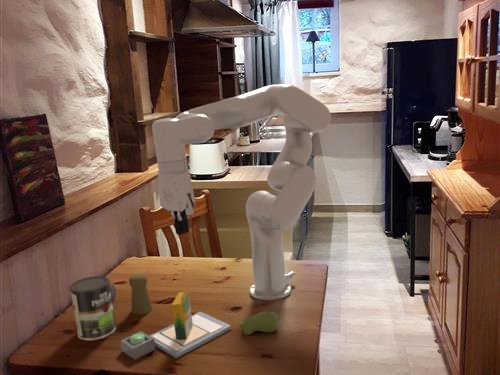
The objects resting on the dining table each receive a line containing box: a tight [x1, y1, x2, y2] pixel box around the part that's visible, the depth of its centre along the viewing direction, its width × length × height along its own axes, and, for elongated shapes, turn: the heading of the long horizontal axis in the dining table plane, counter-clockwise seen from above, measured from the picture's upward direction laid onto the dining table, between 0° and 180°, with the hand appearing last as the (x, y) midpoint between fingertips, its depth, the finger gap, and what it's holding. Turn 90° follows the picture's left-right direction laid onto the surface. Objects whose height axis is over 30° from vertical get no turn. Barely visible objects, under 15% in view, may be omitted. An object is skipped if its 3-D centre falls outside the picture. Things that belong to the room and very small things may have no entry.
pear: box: [239, 310, 280, 335], centre depth 132 cm, size 6×5×10 cm
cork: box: [128, 273, 153, 316], centre depth 149 cm, size 6×6×11 cm
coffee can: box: [69, 275, 117, 342], centre depth 137 cm, size 10×10×14 cm
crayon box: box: [171, 285, 193, 340], centre depth 131 cm, size 7×3×12 cm, turn 173°
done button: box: [130, 333, 145, 346], centre depth 127 cm, size 4×4×4 cm
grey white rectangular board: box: [149, 311, 232, 359], centre depth 133 cm, size 18×13×1 cm
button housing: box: [120, 330, 156, 361], centre depth 127 cm, size 6×6×3 cm
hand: (182, 232), depth 136 cm, fingers closed
